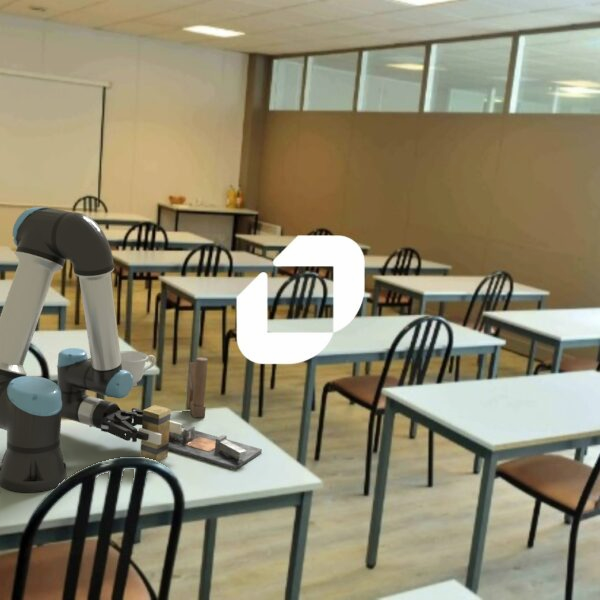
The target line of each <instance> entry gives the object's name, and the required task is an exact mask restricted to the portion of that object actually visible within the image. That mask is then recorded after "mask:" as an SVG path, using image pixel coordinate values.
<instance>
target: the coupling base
mask: <svg viewBox="0 0 600 600" xmlns="http://www.w3.org/2000/svg"><path fill="white" fill-rule="evenodd" d="M195 427H196V426H193V425H189V426H188V427H185V426H182V432H181V434H177V433H173V432H170V431H169V445H168V451H171V452H174V453H176V454H180V455H185V456H187V457H190V458H194V459H197V460H200V461H203V462H208V463H210V464H214V465H217V466H221V467H223V468H226V469H230V470H233V471H238V469H240V468H241V467H243V466H245V465H246V464H247V463H248V462H251V461H252V460H254V458H257V456H260V454H262V448H259V447H255V446H251V445H248V444H244V443H241V442H237V441H234V440H231V439H227V437H228V435H224V434H221V436H217V435H212V434H209V433H206V432H202V431H198V430H195Z"/></svg>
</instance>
